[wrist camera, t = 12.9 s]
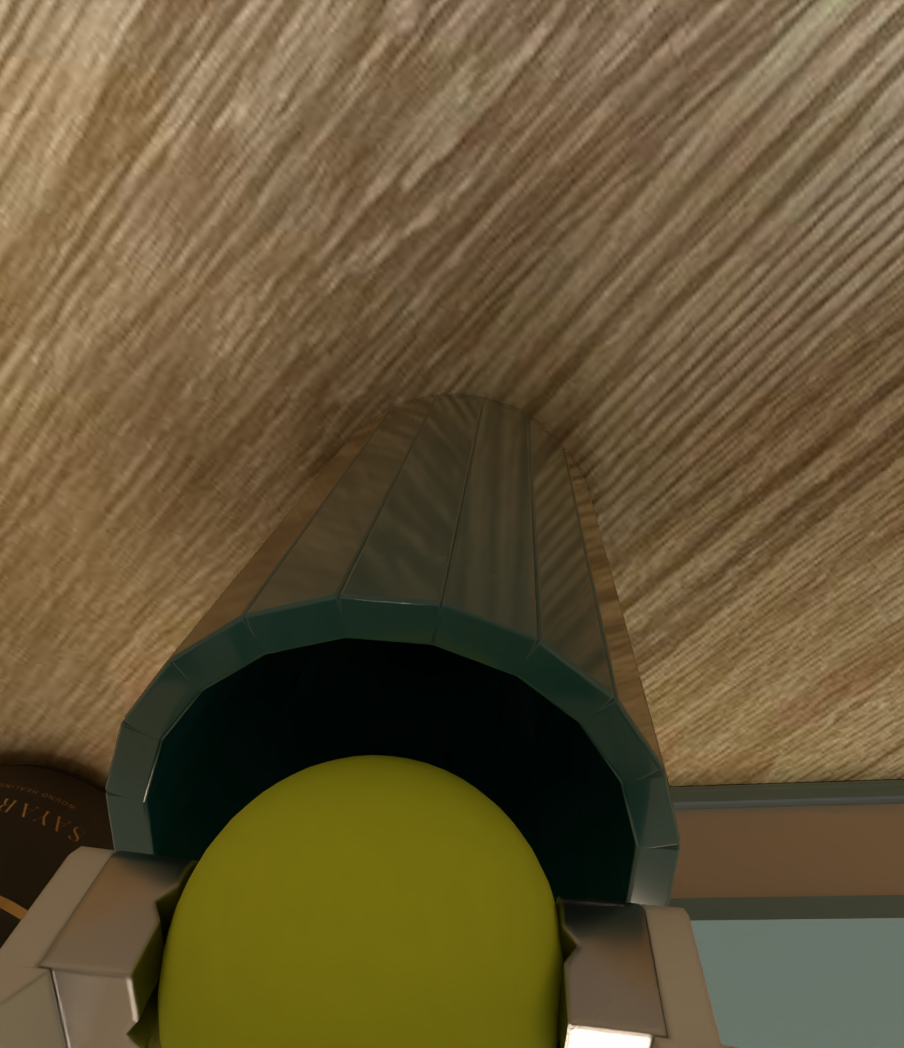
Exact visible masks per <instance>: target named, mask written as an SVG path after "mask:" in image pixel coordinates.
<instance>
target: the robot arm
mask: <svg viewBox="0 0 904 1048" xmlns="http://www.w3.org/2000/svg"><path fill="white" fill-rule="evenodd" d="M198 862H199V861H196V860H190V859H182V858H174V857H167V856H159V855H151V854H144V853H136V852H128V851H121V850H120V851H116V850H108V849H100V848H92V847H84V846H81V847H79V848H78V849H77V850H75V851H74V852H72V853H71V854H70V855H69V856H67V858H66V859H65V861H64V862H63V863H62V865H61V866H60V867H59V869H58V870H57V872H56V873H55V874H54V876H53V877H52V878H51V880H50V881H49V883H48V884H47V885H46V887H45V888H44V889H43V891H42V892H41V894H40V895H39V896H38V898H37V899H36V900H35V902H34V903H33V905H32V906H31V907H30V909H29V910H28V911H27V913H26V914H25V915H24V917H23V918H22V920H21V921H20V922H19V924H18V925H17V926H16V928H15V929H14V931H13V932H12V933H11V935H10V936H9V937H8V939H7V940H6V942H5V943H4V944H3V946H2V947H1V948H0V1048H161V1042H160V1035H159V1011H158V989H159V981H160V973H161V966H162V958H163V950H164V946H165V942H166V939H167V935H168V931H169V927H170V924H171V921H172V918H173V915H174V912H175V909H176V906H177V904H178V902H179V899H180V897H181V895H182V892H183V890H184V888H185V885H186V883H187V882H188V880H189V878H190V876H191V874H192V873H193V871H194V869H195V867H196V866H197V864H198ZM556 908H557V912H558V921H559V933H560V944H561V949H562V954H563V960H564V967H563V973H562V980H561V987H560V1000H559V1017H558V1024H559V1041H558V1045H557V1048H736V1047H734V1046H728V1045H722V1044H721V1040H720V1036H719V1032H718V1028H717V1024H716V1020H715V1016H714V1012H713V1008H712V1005H711V1001H710V997H709V993H708V989H707V985H706V981H705V977H704V973H703V969H702V965H701V961H700V957H699V953H698V949H697V945H696V941H695V937H694V933H693V929H692V925H691V921H690V917H689V915H688V914H687V912H686V911H685V909H684V908H679V907H668V906H658V905H647V904H641V905H639V904H638V903H630V902H619V901H608V900H596V899H585V898H574V897H563V896H558V898H557V901H556Z"/></svg>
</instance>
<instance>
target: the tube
mask: <svg viewBox="0 0 904 1048" xmlns="http://www.w3.org/2000/svg"><path fill="white" fill-rule="evenodd" d="M365 755H383V756H395V757H402V758H408V759H412V760H416V761H420V762H424V763H428V764H430V765H433V766H436V767H438V768H441V769H444V770H446V771H448V772H450V773H452V774H454V775H456V776H458V777H460V778H462V779H463V780H465V781H466V782H468V783H469V784H471V785H472V786H474V787H475V788H477V789H478V790H479V791H480V792H482V793H483V794H484V795H485V796H487V797H488V798H489V799H490V800H491V801H493V802H494V803H495V804H496V805H497V806H498V807H500V809H501V810H502V811H503V812H504V813H505V814H506V815H507V816H508V817H509V818H510V819H511V820H512V822H513V823H514V824H515V826H516V827H517V828H518V830H519V831H520V832H521V834H522V835H523V837H524V838H525V839H526V841H527V842H528V844H529V845H530V847H531V848H532V850H533V852H534V854H535V856H536V858H537V860H538V862H539V864H540V866H541V868H542V870H543V872H544V874H545V876H546V878H547V880H548V882H549V885H550V888H551V891H552V894H553V898H554V901H555V904H556V901H557V898H558V896H563V897H574V898H585V899H596V900H608V901H619V902H630V903H638V904H639V905H641V904H647V905H658V906H668V907H669V902H670V897H671V892H672V887H673V882H674V877H675V872H676V867H677V862H678V857H679V853H680V848H681V847H680V844H679V843H680V834H679V830H678V825H677V820H676V816H675V811H674V806H673V802H672V797H671V792H670V788H669V783H668V778H667V774H666V770H665V766H664V763H663V759H662V755H661V752H660V748H659V744H658V741H657V737H656V733H655V730H654V726H653V722H652V719H651V715H650V711H649V708H648V704H647V700H646V697H645V693H644V690H643V686H642V682H641V679H640V675H639V671H638V668H637V664H636V660H635V657H634V653H633V649H632V646H631V642H630V638H629V635H628V631H627V627H626V624H625V620H624V616H623V613H622V609H621V605H620V602H619V598H618V595H617V591H616V587H615V584H614V580H613V576H612V573H611V569H610V565H609V562H608V558H607V554H606V551H605V547H604V543H603V540H602V536H601V532H600V529H599V525H598V521H597V518H596V514H595V511H594V507H593V503H592V500H591V496H590V492H589V489H588V487H587V484H586V482H585V480H584V478H583V476H582V473H581V472H580V470H579V468H578V466H577V465H576V463H575V461H574V459H573V458H572V456H571V455H570V454H569V452H568V451H567V450H566V448H565V447H564V446H563V444H562V443H561V442H560V441H559V440H558V439H557V438H556V437H555V436H554V435H553V434H552V433H551V432H550V431H549V430H548V429H546V428H545V427H544V426H542V425H541V424H540V423H538V422H537V421H536V420H535V419H533V418H531V417H530V416H528V415H526V414H524V413H523V412H521V411H519V410H517V409H515V408H513V407H510V406H508V405H505V404H503V403H500V402H498V401H494V400H490V399H486V398H482V397H477V396H469V395H436V396H428V397H422V398H418V399H415V400H411V401H407V402H404V403H402V404H400V405H397V406H395V407H392V408H390V409H388V410H386V411H384V412H383V413H381V414H379V415H378V416H376V417H374V418H373V419H371V420H370V421H369V422H368V423H366V424H365V425H364V426H363V427H361V428H360V429H359V430H358V431H356V432H355V433H354V434H353V435H352V436H351V437H350V438H349V439H348V441H347V442H346V443H345V444H344V445H343V447H342V448H341V449H340V450H339V452H338V453H337V454H336V455H335V456H334V458H333V459H332V460H331V461H330V462H329V464H328V465H327V466H326V467H325V469H324V470H323V471H322V472H321V473H320V475H319V476H318V477H317V478H316V480H315V481H314V482H313V483H312V484H311V486H310V487H309V488H308V489H307V491H306V492H305V493H304V494H303V495H302V497H301V498H300V499H299V500H298V502H297V503H296V504H295V505H294V506H293V508H292V509H291V510H290V511H289V513H288V514H287V515H286V516H285V517H284V519H283V520H282V521H281V522H280V524H279V525H278V526H277V527H276V528H275V530H274V531H273V532H272V533H271V535H270V536H269V537H268V538H267V539H266V541H265V542H264V543H263V544H262V546H261V547H260V548H259V549H258V550H257V552H256V553H255V554H254V555H253V557H252V558H251V559H250V560H249V561H248V563H247V564H246V565H245V566H244V568H243V569H242V570H241V571H240V572H239V574H238V575H237V576H236V577H235V579H234V580H233V581H232V582H231V583H230V585H229V586H228V587H227V588H226V590H225V591H224V592H223V593H222V594H221V596H220V597H219V598H218V599H217V601H216V602H215V603H214V604H213V605H212V607H211V608H210V609H209V610H208V612H207V613H206V614H205V615H204V616H203V618H202V619H201V620H200V621H199V623H198V624H197V625H196V626H195V627H194V629H193V630H192V631H191V632H190V634H189V635H188V636H187V637H186V638H185V640H184V641H183V642H182V643H181V645H180V646H179V647H178V648H177V649H176V651H175V652H174V653H173V654H172V656H171V657H170V658H169V659H168V660H167V662H166V663H165V664H164V666H163V667H162V668H161V669H160V671H159V672H158V673H157V675H156V676H155V677H154V679H153V680H152V681H151V683H150V684H149V685H148V687H147V688H146V689H145V690H144V692H143V693H142V694H141V696H140V697H139V698H138V700H137V701H136V702H135V704H134V705H133V706H132V708H131V709H130V710H129V711H128V713H127V714H126V715H125V719H124V720H123V722H122V723H121V726H120V730H119V734H118V738H117V742H116V746H115V750H114V754H113V758H112V762H111V766H110V770H109V774H108V778H107V782H106V787H105V790H106V794H105V795H106V802H107V808H108V815H109V821H110V828H111V834H112V840H113V847H114V850H116V851H120V850H121V851H128V852H136V853H144V854H151V855H159V856H167V857H174V858H182V859H190V860H196V861H200V859H201V858H202V856H203V854H204V853H205V851H206V849H207V848H208V847H209V846H210V844H211V843H212V842H213V841H214V839H215V838H216V837H217V836H218V835H219V833H220V832H221V831H222V830H223V829H224V827H225V826H226V825H227V824H228V823H229V822H230V820H231V819H232V818H233V817H234V816H235V815H236V814H238V813H239V812H240V811H241V810H242V809H243V808H244V807H245V806H247V805H248V804H249V803H250V802H251V801H253V800H254V799H255V798H256V797H257V796H258V795H260V794H261V793H262V792H264V791H265V790H267V789H269V788H270V787H272V786H273V785H275V784H276V783H278V782H280V781H282V780H283V779H285V778H287V777H289V776H291V775H293V774H295V773H297V772H299V771H302V770H304V769H306V768H308V767H312V766H315V765H318V764H321V763H324V762H328V761H332V760H336V759H341V758H347V757H352V756H365Z"/></svg>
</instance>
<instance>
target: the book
mask: <svg viewBox="0 0 904 1048" xmlns="http://www.w3.org/2000/svg"><path fill="white" fill-rule="evenodd" d="M669 788H670V792H671V797H672V802H673V806H674V811H675V816H676V820H677V825H678V830H679V834H680V843H679V844H680V847H681V848H680V853H679V857H678V862H677V867H676V872H675V877H674V882H673V887H672V892H671V897H670V902H669V907H679V908H684V909H685V911H686V912H687V914H688V915H689V917H690V921H691V925H692V929H693V933H694V937H695V941H696V945H697V949H698V953H699V957H700V961H701V965H702V969H703V973H704V977H705V981H706V985H707V989H708V993H709V997H710V1001H711V1005H712V1008H713V1012H714V1016H715V1020H716V1024H717V1028H718V1032H719V1036H720V1040H721V1044H722V1045H728V1046H734V1047H736V1048H904V780H878V781H847V782H816V783H785V784H754V785H723V786H692V787H669Z"/></svg>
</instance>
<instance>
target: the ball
mask: <svg viewBox="0 0 904 1048" xmlns="http://www.w3.org/2000/svg"><path fill="white" fill-rule="evenodd" d="M563 967H564V960H563V954H562V949H561V944H560V933H559V921H558V912H557V908H556V904H555V901H554V898H553V894H552V891H551V888H550V885H549V882H548V880H547V878H546V876H545V874H544V872H543V870H542V868H541V866H540V864H539V862H538V860H537V858H536V856H535V854H534V852H533V850H532V848H531V847H530V845H529V844H528V842H527V841H526V839H525V838H524V837H523V835H522V834H521V832H520V831H519V830H518V828H517V827H516V826H515V824H514V823H513V822H512V820H511V819H510V818H509V817H508V816H507V815H506V814H505V813H504V812H503V811H502V810H501V809H500V807H498V806H497V805H496V804H495V803H494V802H493V801H491V800H490V799H489V798H488V797H487V796H485V795H484V794H483V793H482V792H480V791H479V790H478V789H477V788H475V787H474V786H472V785H471V784H469V783H468V782H466V781H465V780H463V779H462V778H460V777H458V776H456V775H454V774H452V773H450V772H448V771H446V770H444V769H441V768H438V767H436V766H433V765H430V764H428V763H424V762H420V761H416V760H412V759H408V758H402V757H395V756H383V755H365V756H352V757H347V758H341V759H336V760H332V761H328V762H324V763H321V764H318V765H315V766H312V767H308V768H306V769H304V770H302V771H299V772H297V773H295V774H293V775H291V776H289V777H287V778H285V779H283V780H282V781H280V782H278V783H276V784H275V785H273V786H272V787H270V788H269V789H267V790H265V791H264V792H262V793H261V794H260V795H258V796H257V797H256V798H255V799H254V800H253V801H251V802H250V803H249V804H248V805H247V806H245V807H244V808H243V809H242V810H241V811H240V812H239V813H238V814H236V815H235V816H234V817H233V818H232V819H231V820H230V822H229V823H228V824H227V825H226V826H225V827H224V829H223V830H222V831H221V832H220V833H219V835H218V836H217V837H216V838H215V839H214V841H213V842H212V843H211V844H210V846H209V847H208V848H207V849H206V851H205V853H204V854H203V856H202V858H201V859H200V861H199V862H198V864H197V866H196V867H195V869H194V871H193V873H192V874H191V876H190V878H189V880H188V882H187V883H186V885H185V888H184V890H183V892H182V895H181V897H180V899H179V902H178V904H177V906H176V909H175V912H174V915H173V918H172V921H171V924H170V927H169V931H168V935H167V939H166V942H165V946H164V950H163V958H162V966H161V973H160V981H159V989H158V1011H159V1035H160V1042H161V1048H557V1045H558V1041H559V1024H558V1017H559V1000H560V987H561V980H562V973H563Z"/></svg>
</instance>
